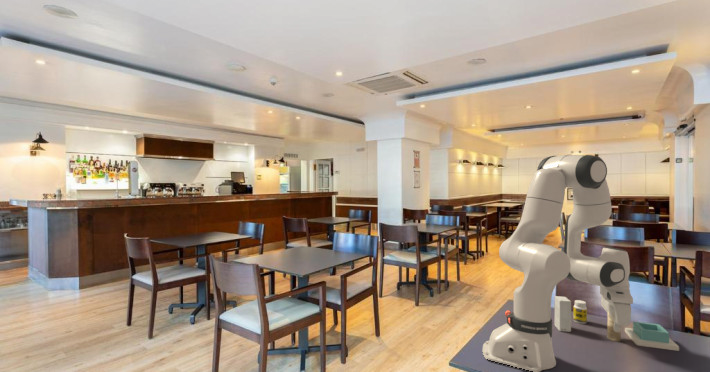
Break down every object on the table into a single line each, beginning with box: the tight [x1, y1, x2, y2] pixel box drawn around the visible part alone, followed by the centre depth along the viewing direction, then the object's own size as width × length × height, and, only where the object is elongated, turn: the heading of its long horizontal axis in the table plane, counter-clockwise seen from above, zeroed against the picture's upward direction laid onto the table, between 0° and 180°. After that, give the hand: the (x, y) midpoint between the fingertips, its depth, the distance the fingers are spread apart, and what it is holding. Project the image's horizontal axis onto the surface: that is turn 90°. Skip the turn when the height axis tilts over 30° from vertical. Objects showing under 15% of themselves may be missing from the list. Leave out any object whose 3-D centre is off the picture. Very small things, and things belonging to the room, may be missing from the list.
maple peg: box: [606, 312, 622, 342], centre depth 132 cm, size 4×4×10 cm
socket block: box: [624, 321, 680, 352], centre depth 130 cm, size 12×12×5 cm
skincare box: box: [554, 295, 572, 333], centre depth 141 cm, size 6×4×12 cm
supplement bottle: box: [572, 299, 588, 325], centre depth 147 cm, size 5×5×8 cm
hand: (614, 328), depth 132 cm, fingers closed on maple peg, 4 cm apart
